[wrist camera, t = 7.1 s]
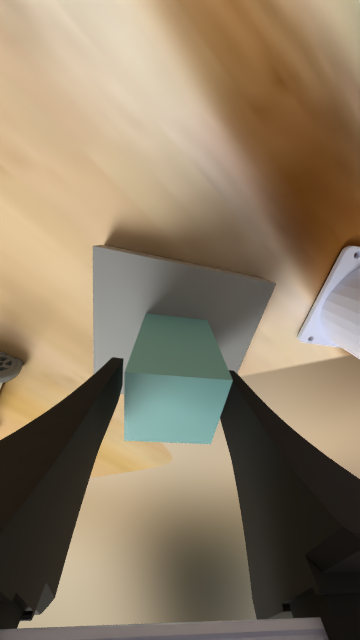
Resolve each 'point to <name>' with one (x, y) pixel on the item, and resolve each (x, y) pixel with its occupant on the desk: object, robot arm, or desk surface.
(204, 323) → the teal block
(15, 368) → the toy car
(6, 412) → the desk surface
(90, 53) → the desk surface
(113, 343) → the slate base
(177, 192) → the desk surface
